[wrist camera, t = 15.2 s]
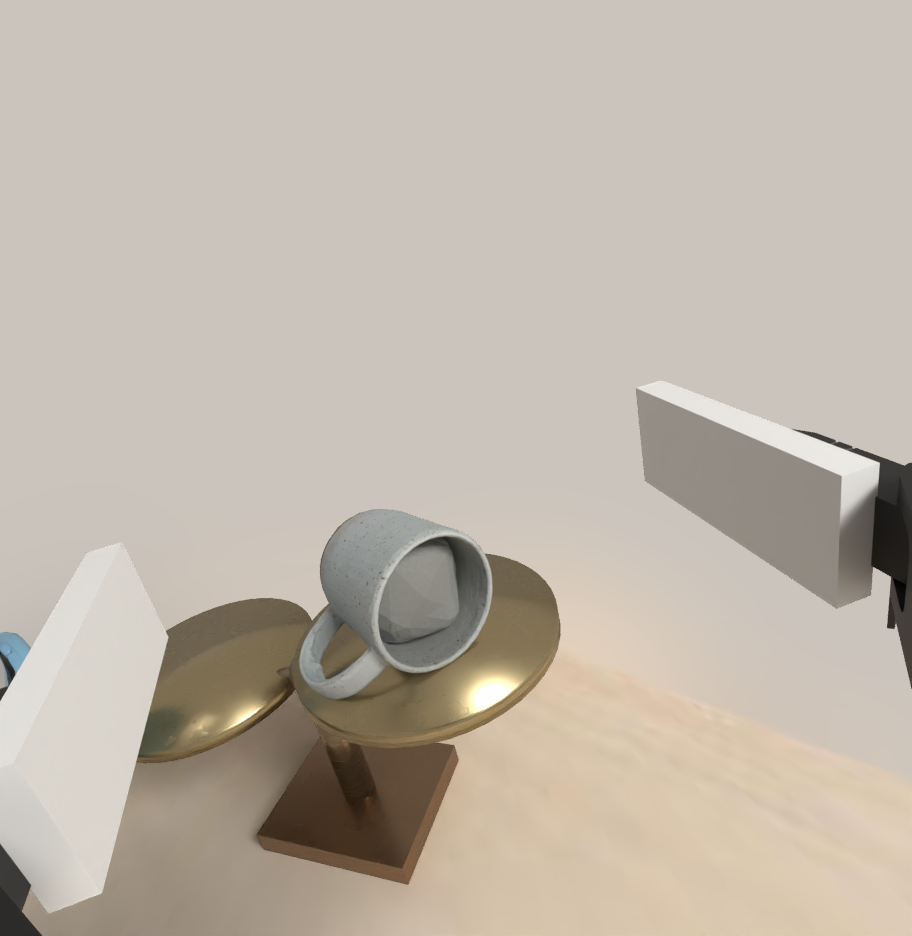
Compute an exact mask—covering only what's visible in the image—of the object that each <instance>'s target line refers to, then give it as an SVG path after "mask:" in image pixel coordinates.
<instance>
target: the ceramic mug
mask: <svg viewBox="0 0 912 936" xmlns="http://www.w3.org/2000/svg"><path fill="white" fill-rule="evenodd" d="M320 578H321V584H322V588H323V591H324V593H325V595H326V598H327V600H328V602H329V607H328V608H327V610H326V611H325V612H324V613H323V614H322V615H321V616H320V618H319V619H318V620H317V622H316V623H315V624H314V625H313V627H312V628H311V630H310V632H309V633H308V635H307V637H306V638H305V640H304V642H303V645H302V649H301V652H300V658H299V668H300V673H301V675H302V677H303V679H304V681H305V682H306V684H307V685H308V686H310V687H311V688H312V689H313V690H315V691H316V692H318V693H319V694H320V695H322V696H323V697H325V698H328V699H332V700H338V699H343V698H347V697H350V696H352V695H354V694H356V693H358V692H359V691H361V690H362V689H363V688H365V687H366V686H367V685H368V684H369V683H370V682H372V681H373V680H374V679H375V678H376V677H377V676H378V675H379V674H380V673H381V672H382V671H383V670H384V669H385V668H386V667H387V666H388V665H391V666H393V667H394V668H396V669H398V670H401V671H405V672H409V673H427V672H430V671H433V670H436V669H439V668H441V667H443V666H445V665H447V664H449V663H451V662H452V661H454V660H455V659H456V658H458V657H459V656H460V655H461V654H462V653H464V652H465V651H466V650H467V649H468V648H469V647H470V645H471V644H472V643H473V642H474V640H475V639H476V638H477V636H478V634H479V632H480V631H481V629H482V627H483V625H484V623H485V621H486V618H487V616H488V613H489V610H490V605H491V599H492V574H491V569H490V566H489V563H488V560H487V558H486V556H485V553H484V552H483V550H482V549H481V547H480V546H479V545H478V544H477V543H476V542H475V541H474V540H473V539H472V538H471V537H469V536H468V535H467V534H465V533H463V532H461V531H458V530H455V529H452V528H448V527H445V526H442V525H439V524H436V523H433V522H431V521H428V520H425V519H421V518H418V517H416V516H413V515H410V514H408V513H405V512H401V511H396V510H386V509H376V510H369V511H365V512H362V513H359V514H357V515H355V516H353V517H351V518H349V519H348V520H346V521H345V522H344V523H343V524H342V525H341V526H339V527H338V528H337V530H336V531H335V532H334V534H333V535H332V537H331V538H330V539H329V541H328V543H327V545H326V547H325V549H324V552H323V555H322V558H321V564H320ZM344 623H346V624H347V625H348V626H349V627H350V628H351V629H352V630H354V631H355V632H356V633H357V634H358V635H359V636H360V637H361V638H362V639H363V640H364V642H365V643H366V644H367V645H368V646H369V647H368V649H367V650H366V651H365V653H364V654H363V655H362V656H361V657H360V658H359V659H358V660H356V661H355V662H354V663H352V664H351V665H350V666H349V667H348V668H347V669H345V670H344V671H343V672H341V673H340V674H338V675H336V676H334V677H332V678H330V679H325V677H324V674H323V667H322V666H321V665H320V662H321V659H322V656H323V653H324V651H325V650H326V648H327V646H328V644H329V643H330V641H331V640H332V638H333V636H334V635H335V634H336V633H337V631H338V630H339V629H340V628H341V626H342V625H343V624H344Z"/></svg>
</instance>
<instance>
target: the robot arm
mask: <svg viewBox="0 0 912 936" xmlns="http://www.w3.org/2000/svg"><path fill="white" fill-rule="evenodd" d="M636 395H637V405H638V415H639V425H640V435H641V446H642V456H643V466H644V476H645V481H646V482H647V483H649V484H651V485H652V486H653V487H655V488H656V489H658V490H659V491H661V492H662V493H664V494H665V495H667V496H668V497H670V498H672V499H673V500H674V501H676V502H678V503H679V504H680V505H682V506H683V507H685V508H687V509H688V510H689V511H691V512H692V513H694V514H695V515H697V516H698V517H700V518H701V519H703V520H704V521H706V522H708V523H709V524H710V525H712V526H713V527H715V528H717V529H718V530H719V531H721V532H722V533H724V534H725V535H727V536H728V537H730V538H731V539H733V540H735V541H736V542H737V543H739V544H740V545H742V546H743V547H745V548H746V549H748V550H749V551H751V552H752V553H754V554H755V555H757V556H758V557H760V558H761V559H763V560H764V561H766V562H767V563H769V564H770V565H772V566H773V567H775V568H776V569H778V570H780V571H781V572H782V573H784V574H786V575H787V576H789V577H790V578H791V579H793V580H794V581H796V582H797V583H799V584H800V585H802V586H803V587H805V588H806V589H808V590H809V591H811V592H812V593H814V594H816V595H817V596H818V597H820V598H821V599H823V600H824V601H826V602H827V603H829V604H830V605H832V606H833V607H835V608H836V609H837V608H839V607H842V606H844V605H847V604H849V603H852V602H855V601H857V600H860V599H862V598H865V597H867V596H870V595H871V587H872V572H873V567H875V568H876V569H879V570H880V571H882V572H884V573H885V574H887V575H889V576H891V586H890V587H891V588H890V598H889V611H888V624H887V628H892V629H894V628H895V624H897V627H898V632H899V636H900V641H901V645H902V649H903V654H904V658H905V662H906V667H907V671H908V675H909V679H910V684H911V688H912V463H908V464H907V465H905V466H904V465H901V464H898V463H895V462H893V461H890V460H888V459H885V458H882V457H879V456H877V455H874V454H871V453H868V452H865V451H863V450H860V449H858V448H855V449H853V448H852V446H849V445H847V444H844V443H841V442H837V443H836V441H835V440H833V439H830V438H828V437H825V436H822V435H820V434H817V433H813V432H807V431H800V430H794V429H789V428H787V427H784V426H781V425H778V424H776V423H773V422H771V421H768V420H765V419H763V418H760V417H757V416H755V415H752V414H750V413H747V412H744V411H742V410H739V409H736V408H734V407H731V406H728V405H726V404H723V403H721V402H718V401H715V400H713V399H710V398H707V397H705V396H702V395H699V394H697V393H694V392H691V391H689V390H686V389H684V388H681V387H678V386H676V385H673V384H670V383H668V382H665V381H662V380H661V381H658V382H654V383H651V384H648V385H644V386H641V387H637V388H636ZM167 641H168V635H167V633H166V631H165V629H164V627H163V625H162V623H161V621H160V619H159V617H158V615H157V613H156V611H155V609H154V607H153V605H152V603H151V601H150V598H149V596H148V594H147V592H146V590H145V588H144V586H143V584H142V582H141V580H140V578H139V576H138V574H137V572H136V570H135V568H134V566H133V564H132V562H131V560H130V558H129V555H128V553H127V551H126V549H125V547H124V545H123V543H122V542H121V543H117V544H114V545H110V546H107V547H103V548H100V549H97V550H94V551H90V552H87V554H86V555H85V557H84V559H83V560H82V562H81V564H80V565H79V567H78V569H77V571H76V572H75V574H74V576H73V577H72V579H71V581H70V583H69V584H68V586H67V588H66V589H65V591H64V593H63V595H62V596H61V598H60V600H59V601H58V603H57V605H56V607H55V608H54V610H53V612H52V613H51V615H50V617H49V619H48V621H47V622H46V624H45V625H44V627H43V629H42V631H41V632H40V634H39V636H38V638H37V639H36V641H35V643H34V644H33V646H32V648H30V646H29V645H28V644H27V643H26V642H25V640H24V639H23V638H21V637H20V636H19V635H17V634H15V633H8V632H4V633H0V936H42V935H41V934H40V933H39V932H38V930H37V929H36V928H35V927H34V926H33V924H32V923H31V922H30V921H29V920H28V919H27V917H26V916H25V915H24V914H23V913H22V909H23V906H24V904H25V901H26V898H27V896H28V893H29V890H31V891H32V892H33V894H34V895H35V896H36V898H37V899H38V900H39V902H40V903H41V904H42V906H43V907H44V908H45V910H46V911H47V912H48V914H50V913H52V912H55V911H58V910H60V909H63V908H65V907H68V906H70V905H73V904H76V903H78V902H81V901H83V900H86V899H88V898H91V897H94V896H96V895H99V894H101V893H102V892H103V888H104V884H105V880H106V876H107V872H108V868H109V865H110V861H111V857H112V853H113V849H114V845H115V841H116V838H117V834H118V830H119V826H120V822H121V818H122V814H123V811H124V807H125V803H126V799H127V795H128V791H129V787H130V784H131V780H132V776H133V772H134V768H135V764H136V760H137V757H138V753H139V749H140V745H141V741H142V737H143V733H144V730H145V726H146V722H147V718H148V714H149V710H150V706H151V703H152V699H153V695H154V691H155V687H156V683H157V679H158V676H159V672H160V668H161V664H162V660H163V656H164V652H165V649H166V645H167Z"/></svg>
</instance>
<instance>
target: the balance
mask: <svg viewBox="0 0 912 936" xmlns="http://www.w3.org/2000/svg"><path fill="white" fill-rule="evenodd" d="M485 556H486V558H487V560H488V563H489V566H490V569H491V574H492V599H491V605H490V610H489V613H488V616H487V618H486V621H485V623H484V625H483V627H482V629H481V631H480V632H479V634H478V636H477V638H476V639H475V640H474V642H473V643H472V644H471V645H470V647H469V648H468V649H467V650H466V651H465V652H464V653H462V654H461V655H460V656H459V657H458V658H456V659H455V660H454V661H452V662H451V663H449V664H447V665H445V666H443V667H441V668H439V669H436V670H433V671H430V672H427V673H409V672H405V671H401V670H398V669H396V668H394V667H393V666H391V665H388V666H387V667H386V668H385V669H384V670H383V671H382V672H381V673H380V674H379V675H378V676H377V677H376V678H375V679H374V680H373V681H372V682H370V683H369V684H368V685H367V686H366V687H365V688H363V689H362V690H361V691H359V692H358V693H356V694H354V695H352V696H350V697H347V698H343V699H338V700H332V699H328V698H325V697H323V696H322V695H320V694H319V693H318V692H316V691H315V690H313V689H312V688H311V687H310V686H308V685H307V684H306V682H305V681H304V679H303V677H302V675H301V673H300V668H299V658H300V652H301V649H302V645H303V642H304V640H305V638H306V637H307V635H308V633H309V632H310V630H311V628H312V627H313V625H314V624H315V623H316V622H317V620H318V619H319V618H320V616H321V615H322V614H323V613H324V612H325V611H326V610H327V608H328V607H329V604H328V605H327V606H326V607H325V608H324V609H323V610H322V611H321V612H320V613H319V614H318V615H317V616H316V617H315V618H314V619H313V621H312V620H311V618H310V616H309V615H308V613H307V612H306V611H305V610H304V609H303V608H302V607H300V606H299V605H297V604H295V603H292V602H290V601H286V600H282V599H273V598H259V599H249V600H243V601H238V602H234V603H229V604H226V605H223V606H219V607H216V608H213V609H211V610H208V611H205V612H203V613H201V614H198V615H196V616H193V617H191V618H189V619H187V620H185V621H183V622H181V623H179V624H177V625H176V626H174V627H172V628H171V629H169V630H167V631H166V633H167V635H168V641H167V645H166V649H165V652H164V656H163V660H162V664H161V668H160V672H159V676H158V679H157V683H156V687H155V691H154V695H153V699H152V703H151V706H150V710H149V714H148V718H147V722H146V726H145V730H144V733H143V737H142V741H141V745H140V749H139V753H138V757H137V760H136V762H139V763H161V762H167V761H174V760H178V759H182V758H186V757H190V756H193V755H196V754H199V753H202V752H205V751H208V750H210V749H212V748H215V747H217V746H219V745H221V744H224V743H226V742H227V741H229V740H231V739H233V738H235V737H237V736H239V735H240V734H242V733H244V732H245V731H247V730H249V729H250V728H252V727H253V726H255V725H256V724H258V723H259V722H260V721H262V720H263V719H264V718H266V717H267V716H269V715H270V714H271V713H272V712H273V711H274V710H276V709H277V708H278V707H279V706H280V705H281V704H282V703H283V702H284V701H285V700H286V699H287V698H288V697H289V696H290V695H291V694H292V693H293V692H294V691H295V689H296V691H297V693H298V696H299V698H300V701H301V703H302V705H303V707H304V709H305V711H306V713H307V714H308V715H309V717H310V718H311V719H312V721H314V723H315V725H316V728H317V730H318V733H319V735H320V738H319V740H318V741H317V743H316V744H315V746H314V748H313V749H312V751H311V752H310V754H309V755H308V757H307V758H306V760H305V761H304V763H303V764H302V766H301V768H300V769H299V771H298V772H297V774H296V775H295V777H294V778H293V780H292V781H291V783H290V784H289V786H288V788H287V789H286V791H285V792H284V794H283V795H282V797H281V798H280V800H279V801H278V803H277V804H276V806H275V808H274V809H273V811H272V812H271V814H270V815H269V817H268V818H267V820H266V821H265V823H264V824H263V826H262V828H261V829H260V831H259V832H258V834H257V836H258V838H259V840H260V842H261V844H262V846H263V848H264V849H265V850H269V851H273V852H277V853H281V854H285V855H289V856H294V857H298V858H302V859H306V860H310V861H314V862H318V863H322V864H326V865H330V866H335V867H339V868H343V869H347V870H351V871H355V872H359V873H363V874H367V875H371V876H376V877H380V878H384V879H388V880H392V881H396V882H400V883H404V884H409V881H410V879H411V876H412V874H413V871H414V869H415V866H416V864H417V861H418V859H419V857H420V854H421V852H422V849H423V847H424V844H425V842H426V839H427V837H428V834H429V832H430V829H431V827H432V824H433V822H434V819H435V817H436V815H437V812H438V810H439V807H440V805H441V802H442V800H443V797H444V795H445V792H446V790H447V787H448V785H449V782H450V780H451V777H452V775H453V772H454V770H455V768H456V765H457V763H458V756H457V753H456V749H455V746H454V745H449V744H442V743H435V742H439V741H443V740H447V739H451V738H453V737H456V736H459V735H462V734H465V733H467V732H470V731H472V730H474V729H476V728H478V727H480V726H482V725H485V724H487V723H489V722H490V721H492V720H494V719H495V718H497V717H498V716H500V715H502V714H503V713H505V712H506V711H508V710H509V709H510V708H512V707H513V706H514V705H516V704H517V703H518V702H520V701H521V700H522V699H523V698H524V697H525V696H526V695H527V694H528V693H529V692H530V691H531V690H532V689H533V688H534V687H535V686H536V685H537V684H538V682H539V681H540V680H541V679H542V677H543V676H544V675H545V673H546V672H547V670H548V668H549V667H550V665H551V663H552V662H553V659H554V657H555V654H556V652H557V649H558V645H559V640H560V619H559V614H558V609H557V604H556V599H555V597H554V595H553V592H552V590H551V588H550V587H549V586H548V584H547V583H546V581H545V580H543V578H542V577H541V576H540V575H538V574H537V573H536V572H535V571H533V570H532V569H530V568H529V567H527V566H525V565H523V564H521V563H519V562H517V561H514V560H511V559H508V558H505V557H501V556H497V555H491V554H485ZM368 647H369V646H368V645H367V644H366V643H365V642H364V640H363V639H362V638H361V637H360V636H359V635H358V634H357V633H356V632H355V631H354V630H352V629H351V628H350V627H349V626H348V625H347V624H346V623H344V624H343V625H342V626H341V628H340V629H339V630H338V631H337V633H336V634H335V635H334V636H333V638H332V640H331V641H330V643H329V644H328V646H327V648H326V650H325V651H324V653H323V656H322V659H321V662H320V665H321V666H322V667H323V674H324V677H325V679H330V678H332V677H334V676H336V675H338V674H340V673H341V672H343V671H344V670H345V669H347V668H348V667H349V666H350V665H351V664H352V663H354V662H355V661H356V660H358V659H359V658H360V657H361V656H362V655H363V654H364V653H365V651H366V650H367V649H368Z"/></svg>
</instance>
